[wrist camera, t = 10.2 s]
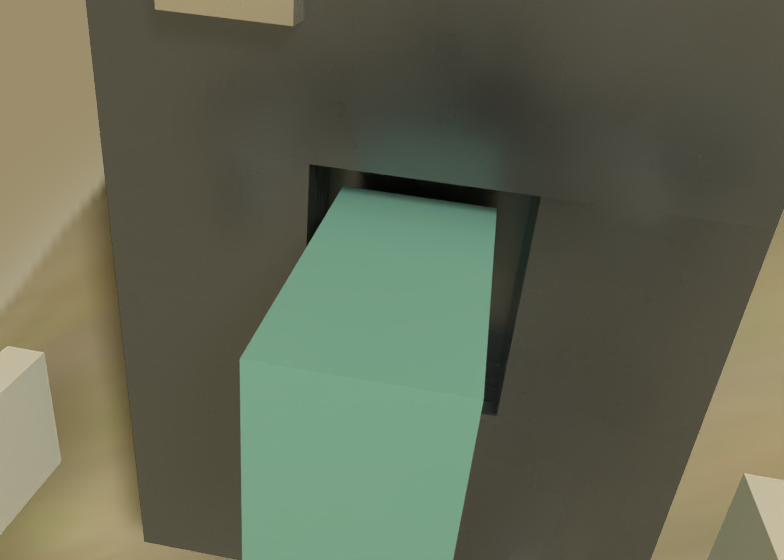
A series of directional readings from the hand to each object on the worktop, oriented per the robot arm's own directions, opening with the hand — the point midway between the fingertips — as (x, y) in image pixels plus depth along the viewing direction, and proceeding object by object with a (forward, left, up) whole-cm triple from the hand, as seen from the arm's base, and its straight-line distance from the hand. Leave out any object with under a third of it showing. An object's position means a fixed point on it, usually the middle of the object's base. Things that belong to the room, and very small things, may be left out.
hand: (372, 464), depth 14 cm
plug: (0, 0, -8) cm, 8 cm away
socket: (0, 0, -9) cm, 9 cm away
